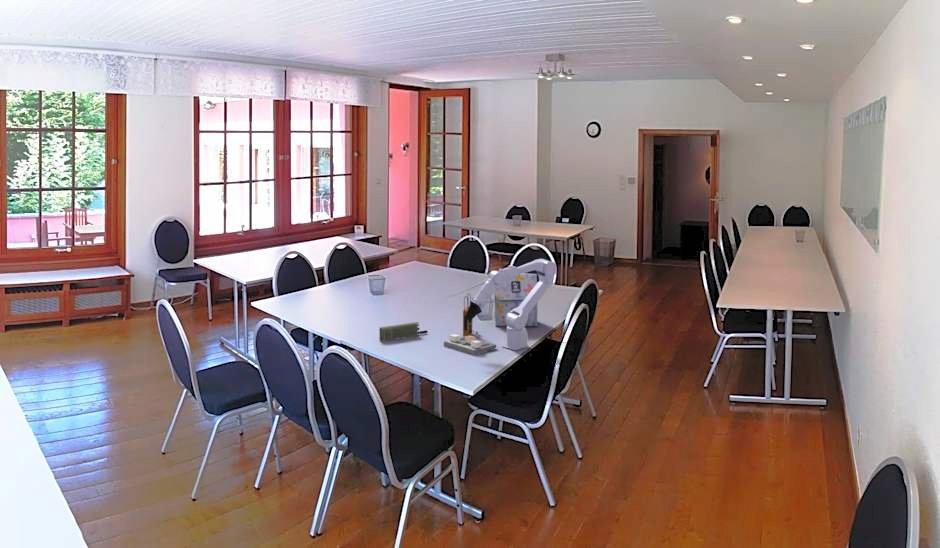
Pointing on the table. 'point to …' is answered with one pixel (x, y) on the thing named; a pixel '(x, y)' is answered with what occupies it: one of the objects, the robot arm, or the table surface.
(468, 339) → the lever
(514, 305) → the lunch bag
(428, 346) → the table surface
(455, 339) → the lever
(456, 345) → the breaker panel
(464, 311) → the multimeter
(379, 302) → the table surface
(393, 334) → the handheld radio
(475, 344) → the lever
